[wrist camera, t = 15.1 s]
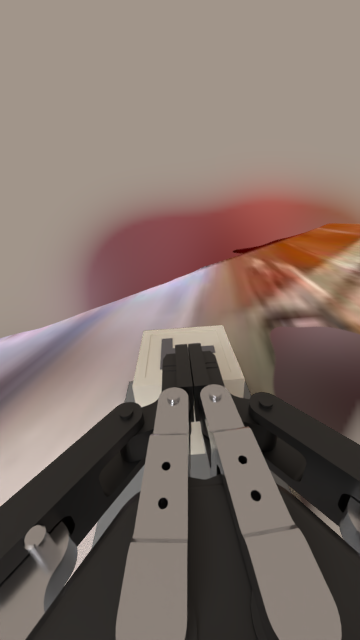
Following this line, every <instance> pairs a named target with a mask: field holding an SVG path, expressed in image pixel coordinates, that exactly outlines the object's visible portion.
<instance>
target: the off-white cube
mask: <svg viewBox="0 0 360 640" xmlns="http://www.w3.org/2000/svg"><path fill="white" fill-rule="evenodd" d="M192 343H201V347H202V351H211V352H212V353H213V354H214V355H215V356H216V359H217V363H218V366H219V369H220V373H221V376H222V379H223V382H224V386H225V388H226V389H228V391H229V392H230V393H231V394H232V395H234V396H237V397H240V398H243V394H244V383H245V378H244V375H243V373H242V371H241V368H240V366H239V363H238V361H237V359H236V356H235V354H234V351H233V349H232V347H231V344H230V342H229V339H228V337H227V335H226V332H225V330H224V327H223V325H219V326H205V327H190V328H176V329H161V330H147V331H143V336H142V341H141V346H140V351H139V356H138V361H137V366H136V370H135V375H134V380H133V385H132V388H133V393H134V398H135V403H137V404H139V405H140V406H141V407H144V406H147V405H150V404H152V403H154V402H155V401H156V400H157V399H158V398H159V395H160V394H161V392H162V364H163V358H164V357H165V355H166V354H173V353H175V345H179V344H187V347H188V344H192ZM191 428H192V432H191V455H194V454H205V450H204V445H203V441H202V436H201V424H200V421H198V422H196V420H195V412H194V422H191Z"/></svg>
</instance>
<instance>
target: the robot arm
mask: <svg viewBox="0 0 360 640" xmlns="http://www.w3.org/2000/svg"><path fill="white" fill-rule="evenodd" d="M194 412H195V420H196V422H198V421H200V424H201V436H202V441H203V445H204V450H205V454H206V459H207V463H208V467H209V472H210V477H211V478H209V479H198V478H193V477H191V432H192V428H191V422H194ZM144 465H145V467H144V473H143V479H142V485H141V491H140V492H138V493H137V494H135V495H134V496H133V497H132V498H131V499H130V500H129V501H128V502H127V503H126V504H125V505H124V506H123V507H122V509H121V510H120V511H119V513H118V514H117V515H116V517H115V518H114V519H113V521H112V522H111V523H110V525H109V526H108V527H107V529H106V530H105V532H104V533H103V534H102V536H101V537H100V538H99V540H98V541H97V542H96V544H95V545H94V547H93V548H92V549H91V551H90V552H89V553H88V555H87V556H86V557H85V559H84V560H83V562H82V563H81V564H80V566H79V567H78V568H77V570H76V571H75V572H74V574H73V575H72V576H71V574H72V572H73V570H74V567H75V564H76V561H77V546H78V545H79V544H80V542H81V541H82V540H83V539H84V538H85V536H86V535H87V534H88V533H89V531H90V530H91V529H92V528H93V527H94V525H95V524H96V523H97V522H98V520H99V519H100V518H101V517H102V516H103V514H104V513H105V512H106V511H107V510H108V508H109V507H110V506H111V505H112V503H113V502H114V501H115V500H116V499H117V497H118V496H119V495H120V494H121V493H122V491H123V490H124V489H125V488H126V486H127V485H128V484H129V483H130V482H131V480H132V479H133V478H134V477H135V475H136V474H137V473H138V472H139V471H140V469H141V468H142V467H143V466H144ZM269 469H270V470H271V471H272V472H273V473H274V474H276V475H277V476H278V477H279V478H281V479H282V480H283V481H284V482H285V483H287V484H288V485H289V486H290V487H291V488H293V489H294V490H295V491H296V492H298V493H299V494H300V495H301V496H303V497H304V498H305V499H306V500H307V501H309V502H310V503H311V504H312V505H313V506H315V507H316V508H317V509H318V510H320V511H321V512H322V513H323V514H325V515H326V516H327V517H328V518H329V519H330V520H332V521H333V522H334V523H336V524H337V525H338V526H339V527H340V531H341V534H342V537H343V539H344V540H343V539H342V538H341V537H340V536H339V535H338V534H337V533H335V532H334V531H333V530H332V529H331V528H330V527H329V526H328V525H326V524H325V523H324V522H323V521H322V520H321V519H320V518H318V517H317V516H316V515H315V514H314V513H313V512H312V511H311V510H310V509H308V508H307V507H306V506H305V505H304V504H303V503H302V502H300V501H299V500H298V499H297V498H296V497H295V496H294V495H293V494H291V493H290V492H289V491H288V490H286V489H285V488H283V487H282V486H280V485H278V484H277V483H275V481H274V479H273V476H272V474H271V472H270V470H269ZM70 576H71V578H70V579H69V577H70ZM68 579H69V581H68V582H67V580H68ZM66 582H67V583H66ZM65 583H66V585H65ZM64 585H65V586H64ZM0 640H360V445H359V444H357V443H356V442H354V441H352V440H350V439H349V438H347V437H345V436H343V435H342V434H340V433H338V432H336V431H335V430H333V429H331V428H330V427H328V426H326V425H324V424H323V423H321V422H319V421H317V420H315V419H314V418H312V417H310V416H308V415H307V414H305V413H303V412H302V411H300V410H298V409H296V408H295V407H293V406H291V405H289V404H288V403H286V402H284V401H283V400H281V399H279V398H277V397H276V396H274V395H272V394H269V393H265V392H259V393H255V394H253V395H252V396H251V397H250V399H246V398H240V397H237V396H234V395H232V394H231V393H230V392H229V391H228V389H226V388H225V386H224V382H223V379H222V376H221V373H220V369H219V366H218V363H217V359H216V356H215V355H214V354H213V353H212V352H211V351H202V347H201V343H192V344H188V347H187V344H179V345H175V353H173V354H166V355H165V357H164V358H163V364H162V392H161V394H160V395H159V398H158V399H157V400H156V401H155V402H154V403H152V404H150V405H147V406H144V407H141V406H140V405H139V404H137V403H135V402H126V403H123V404H120V405H119V406H117V407H116V408H115V409H113V410H112V411H111V412H110V413H109V414H108V415H106V416H105V417H104V418H103V419H102V420H101V421H100V422H98V423H97V424H96V425H95V426H94V427H93V428H91V429H90V430H89V431H88V432H87V433H86V434H84V435H83V436H82V437H81V438H80V439H79V440H77V441H76V442H75V443H74V444H73V445H72V446H70V447H69V448H68V449H67V450H66V451H65V452H63V453H62V454H61V455H60V456H59V457H58V458H56V459H55V460H54V461H53V462H52V463H51V464H49V465H48V466H47V467H46V468H45V469H44V470H42V471H41V472H40V473H39V474H38V475H37V476H35V477H34V478H33V479H32V480H31V481H30V482H28V483H27V484H26V485H25V486H24V487H23V488H21V489H20V490H19V491H18V492H17V493H16V494H15V495H13V496H12V497H11V498H10V499H9V500H8V501H6V502H5V503H4V504H3V505H2V506H1V507H0Z"/></svg>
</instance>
